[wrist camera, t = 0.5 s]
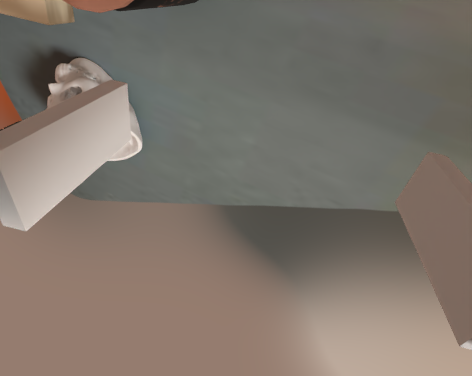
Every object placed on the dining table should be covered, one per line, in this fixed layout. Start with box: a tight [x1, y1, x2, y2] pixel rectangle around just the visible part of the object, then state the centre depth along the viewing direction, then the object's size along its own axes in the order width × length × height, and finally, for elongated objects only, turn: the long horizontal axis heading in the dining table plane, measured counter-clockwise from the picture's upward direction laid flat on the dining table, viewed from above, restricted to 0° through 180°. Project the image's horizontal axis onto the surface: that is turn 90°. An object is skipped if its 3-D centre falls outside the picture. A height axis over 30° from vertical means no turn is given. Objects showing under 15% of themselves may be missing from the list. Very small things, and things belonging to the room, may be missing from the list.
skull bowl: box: [47, 58, 142, 161], centre depth 41 cm, size 10×14×12 cm
